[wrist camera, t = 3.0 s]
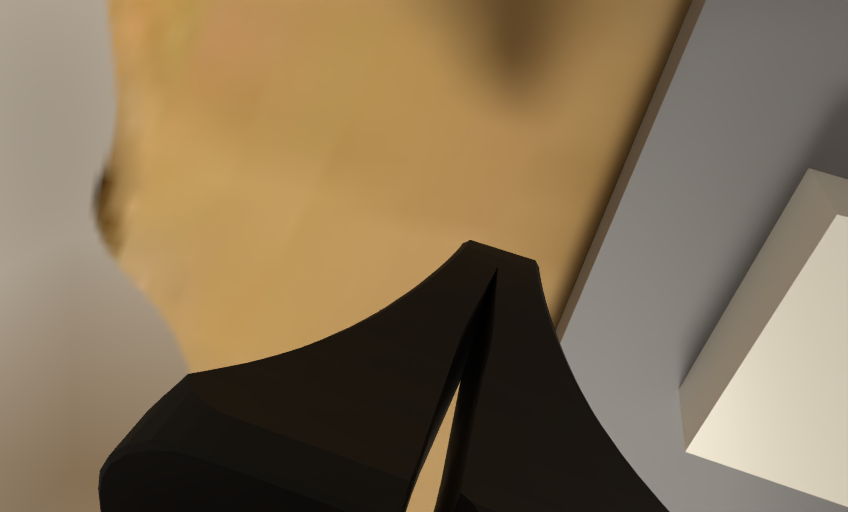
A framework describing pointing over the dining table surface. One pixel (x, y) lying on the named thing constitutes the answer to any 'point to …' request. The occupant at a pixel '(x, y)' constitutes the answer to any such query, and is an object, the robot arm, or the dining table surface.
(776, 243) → the tile
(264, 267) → the dining table surface
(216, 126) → the dining table surface
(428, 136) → the dining table surface
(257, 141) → the dining table surface
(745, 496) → the grey flat slab
